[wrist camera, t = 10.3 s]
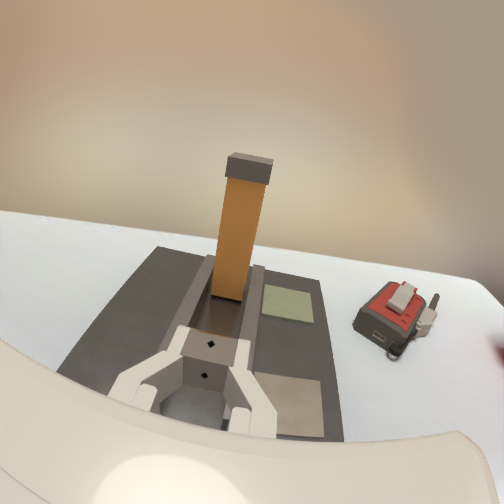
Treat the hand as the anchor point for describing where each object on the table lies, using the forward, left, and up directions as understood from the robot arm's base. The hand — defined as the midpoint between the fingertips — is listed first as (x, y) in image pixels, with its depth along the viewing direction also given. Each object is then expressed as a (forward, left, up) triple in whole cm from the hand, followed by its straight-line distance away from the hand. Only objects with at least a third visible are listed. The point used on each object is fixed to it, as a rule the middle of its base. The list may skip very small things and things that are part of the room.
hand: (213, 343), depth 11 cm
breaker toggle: (-1, +15, -7) cm, 16 cm away
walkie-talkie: (+22, +19, -10) cm, 31 cm away
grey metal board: (-1, +9, -10) cm, 13 cm away
